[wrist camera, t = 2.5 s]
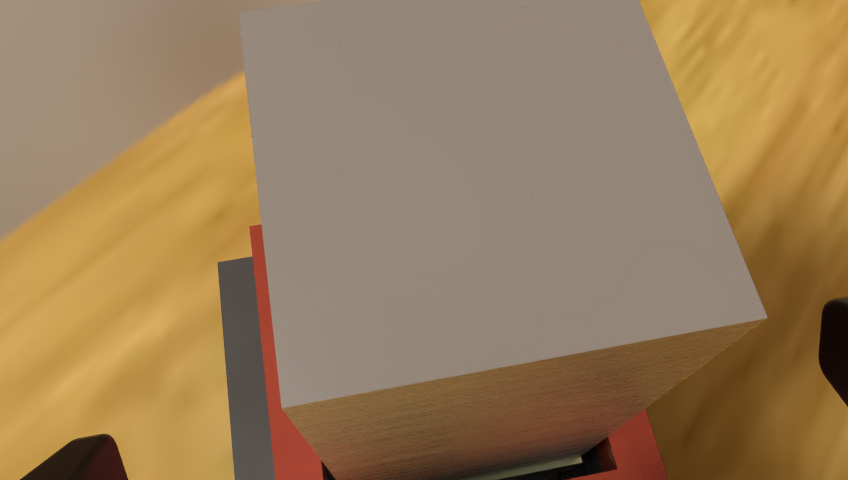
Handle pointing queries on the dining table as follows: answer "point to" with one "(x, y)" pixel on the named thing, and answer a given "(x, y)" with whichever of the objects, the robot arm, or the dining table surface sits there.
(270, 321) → the stand
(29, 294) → the dining table surface
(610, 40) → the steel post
